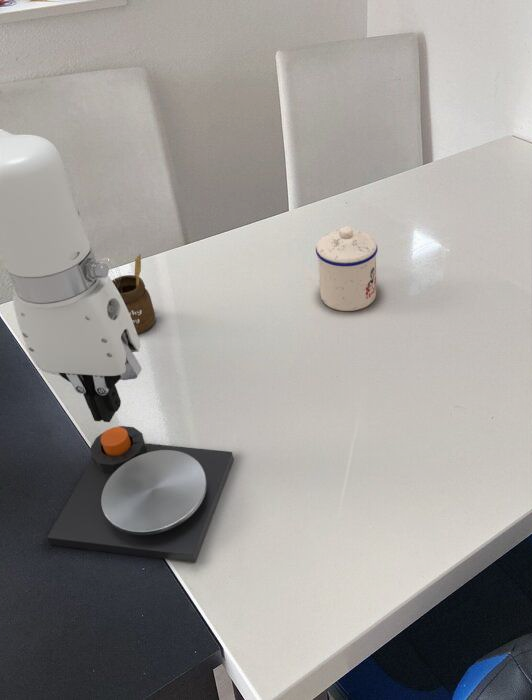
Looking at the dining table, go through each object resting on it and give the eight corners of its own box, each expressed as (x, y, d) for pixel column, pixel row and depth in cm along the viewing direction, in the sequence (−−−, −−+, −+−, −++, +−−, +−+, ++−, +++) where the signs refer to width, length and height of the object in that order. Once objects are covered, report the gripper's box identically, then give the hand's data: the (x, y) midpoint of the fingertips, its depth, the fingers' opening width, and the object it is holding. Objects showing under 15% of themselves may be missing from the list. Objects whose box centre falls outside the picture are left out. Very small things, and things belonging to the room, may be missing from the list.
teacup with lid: (380, 311, 102) (379, 244, 94) (319, 314, 102) (314, 247, 94) (374, 268, 111) (373, 203, 104) (318, 270, 111) (314, 206, 103)
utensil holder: (125, 310, 104) (105, 242, 96) (164, 313, 103) (146, 244, 95) (108, 333, 100) (85, 264, 92) (149, 337, 99) (129, 267, 91)
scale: (50, 545, 72) (41, 528, 70) (110, 441, 83) (103, 423, 81) (195, 563, 70) (190, 546, 68) (236, 453, 81) (232, 436, 79)
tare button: (100, 455, 78) (96, 444, 77) (111, 436, 80) (107, 425, 79) (124, 457, 77) (121, 447, 76) (135, 438, 80) (131, 428, 79)
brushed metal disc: (84, 529, 70) (82, 525, 69) (127, 449, 78) (126, 445, 78) (187, 541, 68) (185, 537, 68) (219, 458, 76) (218, 454, 76)
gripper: (145, 254, 65) (184, 394, 77) (3, 248, 67) (61, 385, 79) (113, 299, 59) (159, 443, 71) (-42, 291, 62) (28, 432, 73)
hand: (108, 412), depth 75 cm, fingers closed
